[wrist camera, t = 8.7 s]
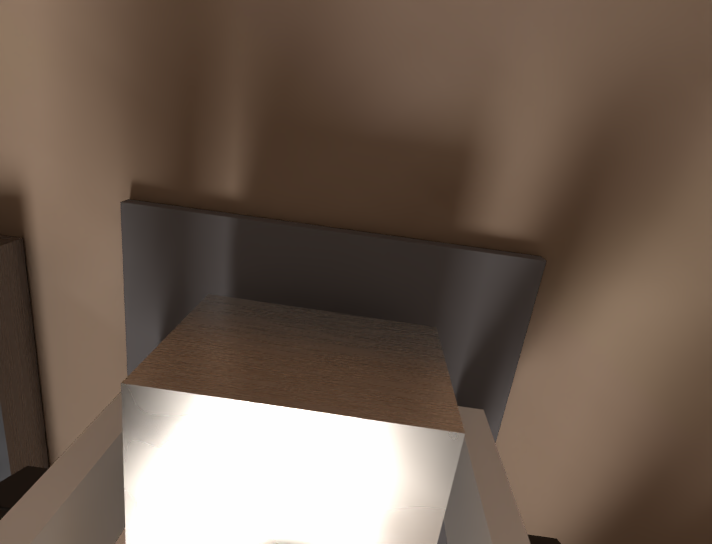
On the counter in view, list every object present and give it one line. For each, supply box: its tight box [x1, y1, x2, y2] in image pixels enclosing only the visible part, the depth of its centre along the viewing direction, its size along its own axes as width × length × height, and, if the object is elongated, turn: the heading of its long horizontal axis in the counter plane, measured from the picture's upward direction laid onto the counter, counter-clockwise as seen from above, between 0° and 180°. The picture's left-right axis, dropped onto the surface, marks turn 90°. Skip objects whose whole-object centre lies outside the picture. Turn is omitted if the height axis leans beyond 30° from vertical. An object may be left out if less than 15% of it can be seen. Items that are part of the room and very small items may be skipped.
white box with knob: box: [121, 294, 465, 544], centre depth 10 cm, size 8×6×6 cm
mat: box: [121, 199, 546, 544], centre depth 14 cm, size 11×11×1 cm
